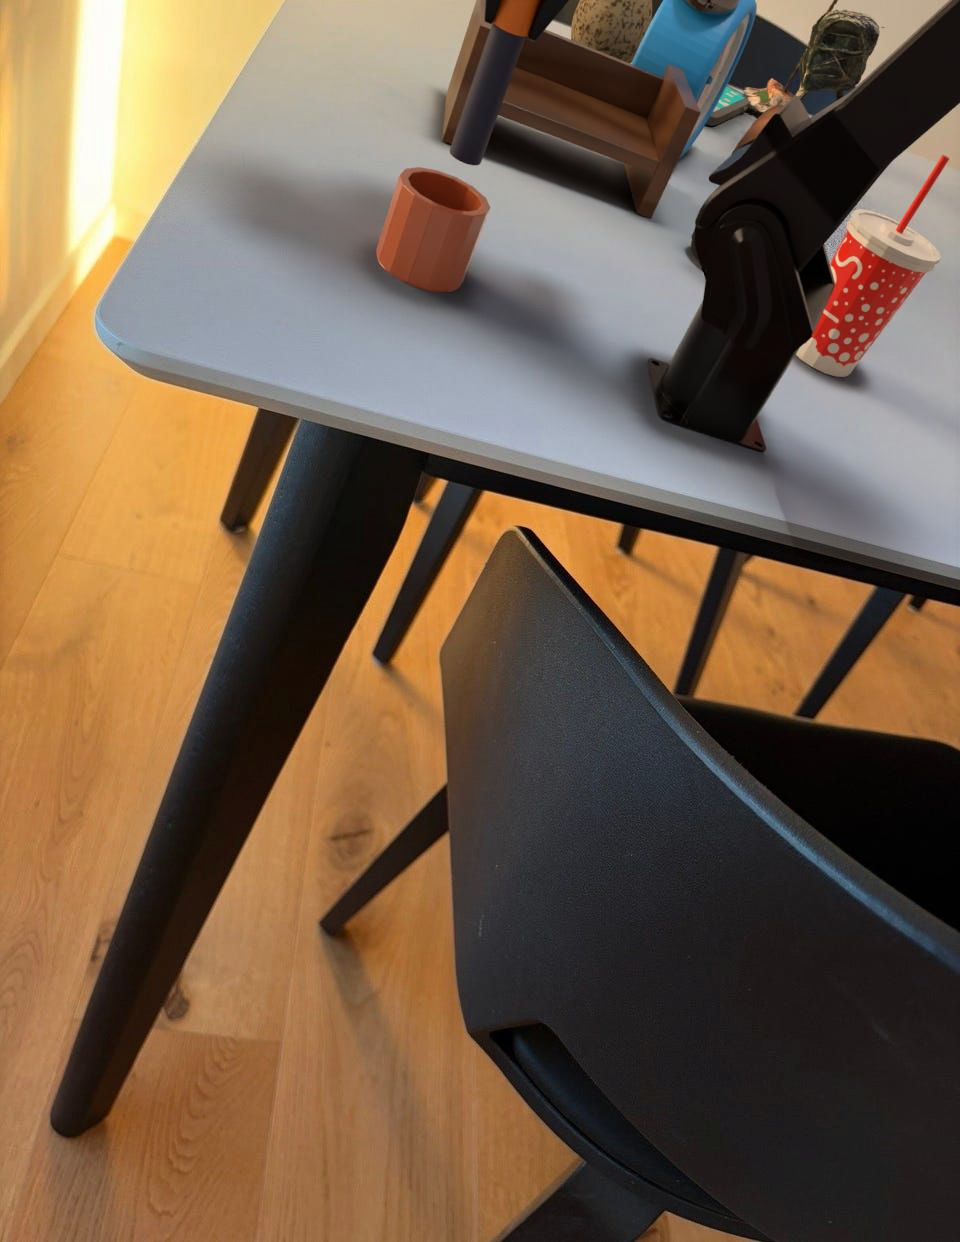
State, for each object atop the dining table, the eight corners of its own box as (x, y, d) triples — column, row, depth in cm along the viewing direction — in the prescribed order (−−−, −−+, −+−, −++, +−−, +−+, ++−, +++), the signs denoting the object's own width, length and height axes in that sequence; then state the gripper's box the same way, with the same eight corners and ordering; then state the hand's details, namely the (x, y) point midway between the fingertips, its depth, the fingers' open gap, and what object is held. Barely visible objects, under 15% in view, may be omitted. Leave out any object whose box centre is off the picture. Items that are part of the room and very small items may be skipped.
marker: (482, 171, 59) (550, -19, 53) (447, 158, 59) (512, -35, 53) (482, 157, 61) (548, -29, 55) (447, 144, 60) (510, -45, 54)
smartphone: (641, 76, 107) (688, 61, 118) (636, 86, 108) (683, 70, 119) (717, 118, 106) (757, 99, 117) (712, 128, 106) (752, 109, 118)
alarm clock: (659, 177, 90) (751, -18, 81) (593, 142, 91) (676, -56, 81) (697, 148, 100) (783, -29, 91) (638, 116, 101) (716, -63, 91)
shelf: (651, 218, 82) (701, 112, 77) (441, 141, 79) (480, 24, 74) (637, 168, 90) (682, 69, 85) (445, 95, 86) (480, -14, 81)
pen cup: (459, 309, 61) (490, 226, 58) (369, 279, 60) (396, 192, 57) (460, 269, 65) (490, 189, 61) (376, 240, 63) (402, 157, 60)
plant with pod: (825, 153, 116) (948, -50, 103) (730, 100, 116) (841, -109, 103) (831, 138, 122) (948, -56, 109) (741, 88, 122) (847, -111, 109)
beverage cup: (774, 320, 76) (891, 121, 67) (852, 352, 77) (978, 159, 68) (784, 362, 72) (911, 153, 63) (867, 395, 73) (1004, 194, 64)
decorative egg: (549, 47, 107) (590, -66, 101) (613, 67, 110) (657, -40, 104) (569, 75, 102) (614, -40, 96) (636, 96, 105) (684, -15, 99)
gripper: (798, -277, 54) (656, 50, 64) (434, -460, 50) (342, -78, 59) (858, -255, 46) (684, 116, 56) (428, -472, 41) (323, -27, 51)
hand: (509, 29), depth 56 cm, fingers closed on marker, 2 cm apart
